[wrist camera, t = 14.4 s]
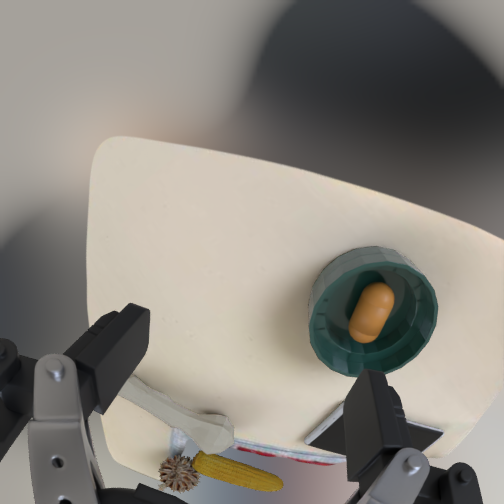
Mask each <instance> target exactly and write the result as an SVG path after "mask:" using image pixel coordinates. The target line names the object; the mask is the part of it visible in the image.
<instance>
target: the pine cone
mask: <svg viewBox="0 0 504 504" xmlns="http://www.w3.org/2000/svg"><path fill="white" fill-rule="evenodd" d="M189 460H190V457H187V458H185V456H184V457H180V455H178V457H177V455H175V456H174V458H173V459H172V458H171V457H169V458H167V460H165V461H166V462H165V461H163V462H164V463H162V464H161V463H160V464H161V469H159V470H160V471H158V472H160V473H161V475H160V476H159V477H161V479H160V481H161V482H164V484H161V485H158V486H159V487H160V488H159V491H160V490H162V491H163V490H164V489H165V488H166V487H170V488H171V490H173V492H174V491H179V492H180V493H181V491H182V492H184V491H185V490H187V491H189V490H190V489H193V487H194V486H197V485H196V484H198V483H197V482H199V481H198V479H199V478H200V476H199V475H200V474H201V473H199V472H197V471H196V470H195V469H194V468H193V467H192V465H191V464H192V461H193V460H191V461H189Z"/></svg>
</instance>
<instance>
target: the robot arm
mask: <svg viewBox="0 0 504 504" xmlns="http://www.w3.org/2000/svg"><path fill="white" fill-rule="evenodd" d="M149 327H150V310H149V309H147V308H144V307H141V306H138V305H136V304H133V303H129V304H128V305H127V306H126V307H125V308H124V309H123V310H122V311H121V312H120V313H119V312H117V311H112V312H110V313H108V314H105V315H103V316H102V317H101V318H100V319H98V320H97V321H96V322H95V323H94V325H92V326H91V327H90V328H89V329H88V331H86V332H85V333H84V334H83V335H82V336H81V337H80V338H79V339H78V340H77V341H76V342H75V343H74V344H73V345H72V346H71V347H70V348H69V349H68V350H67V351H66V352H65V353H63V354H48V355H46V356H44V357H42V358H41V359H40V360H36V359H32V358H28V357H25V356H22V355H19V354H18V351H17V347H16V345H15V344H14V343H13V342H12V341H10V340H8V339H3V338H0V462H1V460H2V459H3V457H4V456H5V454H6V453H7V451H8V450H9V448H10V447H11V445H12V444H13V443H14V441H15V440H16V438H17V437H18V435H19V434H20V433H21V431H22V430H23V428H24V427H25V426H26V424H27V423H28V446H29V460H30V470H31V479H32V486H33V493H34V499H35V504H188V503H186V502H184V501H183V500H181V499H179V498H177V497H176V496H173V495H170V494H167V493H164V492H162V491H159V490H156V489H154V488H151V487H148V486H146V485H143V484H141V483H139V484H138V486H137V488H136V490H134V489H128V488H105V485H104V482H103V479H102V475H101V472H100V469H99V466H98V462H97V458H96V454H95V450H94V445H93V440H92V435H91V429H90V424H89V419H88V417H89V416H90V414H91V413H92V411H93V410H94V411H96V412H98V413H100V414H102V415H104V413H105V412H106V410H107V409H108V407H109V406H110V404H111V403H112V401H113V400H114V399H115V397H116V396H117V394H118V393H119V391H120V390H121V388H122V387H123V386H124V384H125V383H126V381H127V380H128V378H129V377H130V375H131V374H132V373H133V371H134V370H135V368H136V367H137V366H138V364H139V363H140V361H141V360H142V358H143V357H144V355H145V353H146V351H147V348H148V344H149ZM31 417H33V420H30V419H31ZM343 418H344V430H345V443H346V459H347V478H348V481H350V482H359V488H358V489H357V490H356V491H355V492H354V493H353V494H352V495H351V497H350V498H349V499H348V500H347V501H346V502H345V504H483V501H482V496H481V492H480V488H479V484H478V480H477V476H476V473H475V471H474V470H473V469H472V467H470V466H469V465H468V464H466V463H461V462H459V463H455V464H454V465H452V467H450V468H449V469H448V470H444V469H440V468H436V467H433V466H430V465H429V461H428V459H427V457H426V456H425V455H424V454H423V453H422V452H420V451H419V450H417V449H414V448H413V444H412V440H411V436H410V432H409V429H408V425H407V421H406V418H405V414H404V410H403V409H402V403H401V400H400V396H399V395H398V394H397V392H396V391H395V390H394V388H393V387H392V386H388V383H387V380H386V376H385V373H384V372H382V371H376V370H371V369H363V370H362V372H361V373H360V375H359V376H358V378H357V380H356V382H355V383H354V385H353V386H352V388H351V390H350V391H349V393H348V395H347V396H346V398H345V401H344V405H343Z"/></svg>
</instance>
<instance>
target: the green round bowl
mask: <svg viewBox="0 0 504 504" xmlns="http://www.w3.org/2000/svg"><path fill="white" fill-rule="evenodd" d="M374 282H382V283H385V284H387V285H388V286H389V287H390V288H391V289H392V291H393V293H394V305H393V308H392V310H391V312H390V314H389V316H388V318H387V320H386V322H385V324H384V326H383V328H382V330H381V332H380V334H379V335H378V337H377V338H376V339H375V340H373V341H372V342H369V343H360V342H357V341H355V340H354V339H353V338H352V337H351V335H350V333H349V328H348V326H349V321H350V319H351V316H352V314H353V312H354V310H355V307H356V305H357V303H358V301H359V298H360V296H361V293H362V291H363V290H364V288H365V287H366V286H368V285H369V284H371V283H374ZM308 309H309V333H310V343H311V345H312V347H313V349H314V351H315V353H316V355H317V357H318V358H319V359H320V360H321V361H322V362H323V363H324V364H325V365H326V366H327V367H329V368H330V369H331V370H333V371H335V372H338V373H340V374H343V375H345V376H349V377H358V376H359V375H360V373H361V372H362V370H363V369H371V370H376V371H382V372H384V373H385V374H388V373H390V372H393V371H395V370H398V369H400V368H402V367H403V366H404V365H406V364H407V363H409V362H410V361H411V360H413V359H414V358H415V357H416V356H417V355H418V354H419V353H420V352H421V351H422V349H423V348H424V347H425V346H426V344H427V343H428V342H429V340H430V338H431V335H432V333H433V331H434V329H435V326H436V322H437V314H438V303H437V299H436V295H435V291H434V289H433V287H432V286H431V284H430V283H429V281H428V280H427V279H426V277H425V276H424V275H423V273H422V272H421V271H420V270H419V269H418V268H417V267H416V266H415V265H414V264H413V263H412V261H411V260H410V259H408V258H407V257H405V256H404V255H402V254H400V253H399V252H397V251H396V250H393V249H388V248H383V247H378V246H373V247H365V248H357V249H354V250H352V251H350V252H348V253H346V254H343V255H341V256H339V257H337V258H336V259H335V260H334V261H333V262H332V263H330V264H329V265H328V266H327V267H326V268H325V269H324V270H323V271H322V272H321V274H320V275H319V277H318V279H317V280H316V282H315V284H314V285H313V287H312V291H311V295H310V299H309V304H308Z"/></svg>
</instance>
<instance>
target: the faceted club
mask: <svg viewBox="0 0 504 504" xmlns="http://www.w3.org/2000/svg"><path fill="white" fill-rule="evenodd" d="M117 395H119V396H121V397H123V398H125V399H127V400H129V401H131V402H133V403H135V404H136V405H138V406H140V407H141V408H143V409H145V410H146V411H148V412H150V413H151V414H153V415H154V416H156V417H157V418H159V419H160V420H162V421H163V422H165V423H166V424H168V425H169V426H170V427H173V428H178V429H180V430H181V431H183V432H184V433H185V434H186V435H188V436H189V437H190V438H192V439H193V440H194V442H195V443H196V444H197V446H198V447H199V448H200V449H201V450H202V451H203V452H205V453H206V454H207V455H208V454H216V453H221V452H223V451H224V450H226V449H227V448H229V447H230V446H232V445H233V444H234V427H233V425H232V423H231V422H230V420H229V418H228V417H227V416H223V415H218V414H208V415H198V414H196V413H195V412H193V411H191V410H189V409H187V408H185V407H183V406H181V405H179V404H177V403H176V402H174V401H172V399H171V398H170V397H169V396H167V395H165V394H163V393H160V392H158V391H156V390H154V389H152V388H149V387H148V386H147V385H146V384H144V383H143V382H142V381H141V380H140V379H138V378H137V377H136V376H135V375H134V374H131V375H130V377H129V378H128V380H127V381H126V383H125V384H124V386H123V387H122V388H121V390H120V391H119V393H118V394H117Z"/></svg>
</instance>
